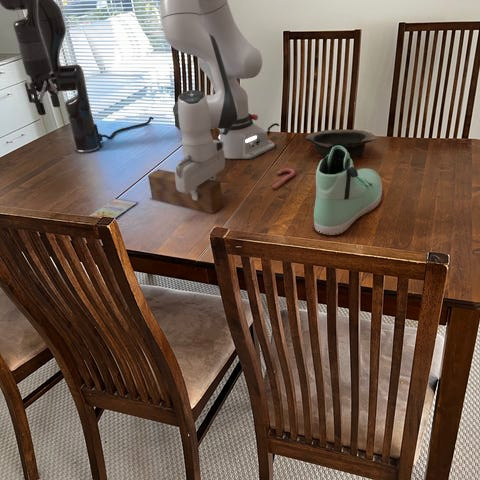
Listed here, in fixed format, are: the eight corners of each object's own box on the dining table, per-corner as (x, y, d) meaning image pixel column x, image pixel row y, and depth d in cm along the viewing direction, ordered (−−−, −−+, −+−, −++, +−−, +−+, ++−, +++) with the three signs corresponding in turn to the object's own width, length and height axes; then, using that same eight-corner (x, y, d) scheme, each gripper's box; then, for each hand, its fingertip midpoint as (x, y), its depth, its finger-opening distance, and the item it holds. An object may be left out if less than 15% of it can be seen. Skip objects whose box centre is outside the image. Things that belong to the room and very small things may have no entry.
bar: (152, 198, 154) (147, 175, 149) (162, 192, 157) (158, 169, 153) (212, 213, 142) (210, 188, 138) (222, 206, 146) (220, 181, 142)
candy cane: (259, 187, 155) (259, 183, 155) (283, 170, 165) (283, 166, 165) (275, 190, 152) (275, 186, 151) (298, 173, 162) (298, 169, 162)
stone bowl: (333, 173, 159) (333, 147, 155) (293, 156, 179) (291, 132, 175) (391, 155, 168) (392, 129, 164) (346, 141, 188) (345, 118, 184)
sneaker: (389, 187, 148) (396, 123, 138) (356, 242, 123) (361, 168, 112) (346, 181, 154) (350, 119, 144) (306, 232, 129) (307, 161, 118)
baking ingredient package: (82, 218, 143) (114, 198, 155) (83, 220, 144) (114, 199, 155) (105, 223, 140) (136, 202, 151) (106, 224, 140) (136, 203, 151)
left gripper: (32, 62, 137) (48, 117, 146) (58, 52, 149) (71, 104, 157) (9, 62, 139) (26, 117, 147) (37, 52, 151) (51, 104, 159)
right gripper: (185, 165, 128) (191, 211, 135) (226, 140, 142) (230, 182, 150) (166, 161, 131) (173, 206, 138) (209, 137, 145) (214, 179, 153)
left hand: (49, 110), depth 152 cm, fingers open, 8 cm apart
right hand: (203, 194), depth 144 cm, fingers open, 6 cm apart
